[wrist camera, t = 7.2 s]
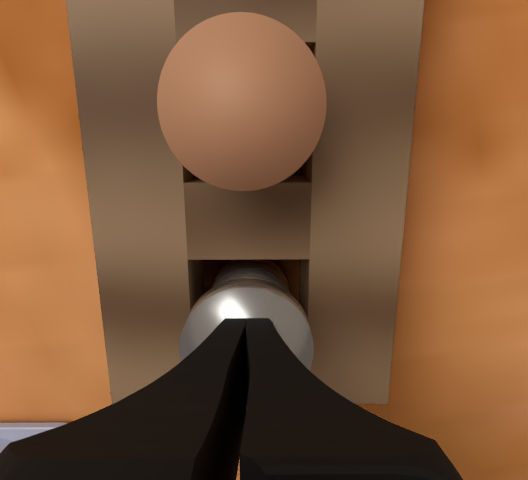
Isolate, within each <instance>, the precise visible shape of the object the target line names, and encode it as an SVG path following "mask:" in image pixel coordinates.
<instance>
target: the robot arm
mask: <svg viewBox="0 0 528 480" xmlns="http://www.w3.org/2000/svg"><path fill="white" fill-rule="evenodd" d="M246 407H247V409H246ZM243 431H244V432H243ZM239 457H240V480H463V479H462V478H461V476H460V475H459V473H458V471H457V470H456V468H455V467H454V465H453V464H452V463H451V461H450V460H449V459H448V457H447V456H446V455H445V453H444V452H443V451H442V449H441V448H440V446H439V445H438V443H437V442H436V441H435V440H433V439H430V438H428V437H425V436H423V435H420V434H418V433H415V432H413V431H410V430H408V429H405V428H403V427H400V426H398V425H395V424H393V423H390V422H388V421H386V420H384V419H382V418H380V417H378V416H376V415H374V414H372V413H370V412H368V411H366V410H365V409H363V408H361V407H359V406H358V405H356V404H354V403H352V402H351V401H349V400H348V399H346V398H345V397H343V396H342V395H340V394H339V393H337V392H335V391H334V390H333V389H331V388H330V387H329V386H327V385H326V384H325V383H323V382H322V381H321V380H320V379H319V378H317V377H316V376H315V375H314V374H313V373H311V372H310V371H309V370H308V369H307V368H306V367H305V366H304V365H303V363H302V362H301V361H300V360H299V359H298V358H297V357H296V356H295V355H294V353H293V352H292V351H291V350H290V348H289V347H288V346H287V344H286V343H285V342H284V340H283V339H282V338H281V336H280V335H279V333H278V331H277V330H276V328H275V326H274V324H273V322H272V321H271V320H270V319H269V318H225V319H224V320H223V321H222V322H221V323H220V324H219V325H218V326H217V327H216V328H215V329H214V330H213V332H212V333H211V334H210V335H209V336H208V337H207V338H206V339H205V340H204V341H203V342H202V343H201V344H200V345H199V346H198V347H197V348H196V349H195V350H194V351H193V352H192V353H190V354H189V355H188V356H187V357H186V358H185V359H183V360H182V361H181V362H180V363H179V364H177V365H176V366H175V367H174V368H172V369H171V370H170V371H168V372H167V373H165V374H164V375H162V376H161V377H159V378H158V379H156V380H155V381H153V382H152V383H150V384H149V385H147V386H145V387H144V388H142V389H140V390H138V391H136V392H134V393H133V394H131V395H129V396H127V397H125V398H124V399H122V400H120V401H118V402H116V403H114V404H112V405H110V406H108V407H105V408H103V409H101V410H99V411H97V412H94V413H92V414H90V415H87V416H85V417H83V418H80V419H78V420H75V421H73V422H70V423H64V422H52V423H0V480H236V476H237V470H238V463H239Z"/></svg>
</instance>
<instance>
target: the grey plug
mask: <svg viewBox="0 0 528 480" xmlns="http://www.w3.org/2000/svg"><path fill="white" fill-rule="evenodd" d="M225 318H269V319H270V320H271V321H272V322H273V324H274V326H275V328H276V330H277V331H278V333H279V335H280V336H281V338H282V339H283V340H284V342H285V343H286V344H287V346H288V347H289V348H290V350H291V351H292V352H293V353H294V355H295V356H296V357H297V358H298V359H299V360H300V361H301V362H302V363H303V365H304V366H305V367H306V368H307V369H308V370H310V368H311V365H312V361H313V355H314V343H313V337H312V333H311V329H310V325H309V321H308V319H307V316H306V313H305V311H304V309H303V308H302V306H301V305H300V303H299V302H298V301H297V300H296V299H295V298H294V296H293V295H291V294H290V291H289V286H288V282H287V279H286V277H285V275H284V273H283V272H282V270H281V269H280V268H279V267H278V266H277V265H276V264H275V263H273V262H271V261H270V260H268V259H249V260H232V261H230V262H229V263H227V264H226V265H225V266H223V268H222V269H221V270H220V271H219V273H218V274H217V276H216V278H215V281H214V284H213V287H212V288H211V289H210V290H208V291H207V292H206V293H204V294H203V295H202V296H201V297H200V298H199V299H198V300H197V302H196V303H195V304H194V306H193V307H192V309H191V311H190V313H189V315H188V318H187V320H186V322H185V325H184V327H183V330H182V333H181V337H180V343H179V352H180V359H181V361H182V360H183V359H185V358H186V357H187V356H188V355H189V354H190V353H192V352H193V351H194V350H195V349H196V348H197V347H198V346H199V345H200V344H201V343H202V342H203V341H204V340H205V339H206V338H207V337H208V336H209V335H210V334H211V333H212V332H213V330H214V329H215V328H216V327H217V326H218V325H219V324H220V323H221V322H222V321H223V320H224V319H225ZM246 409H247V407H246Z"/></svg>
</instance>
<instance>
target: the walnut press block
mask: <svg viewBox="0 0 528 480" xmlns="http://www.w3.org/2000/svg"><path fill="white" fill-rule="evenodd" d="M66 6H67V15H68V24H69V32H70V41H71V50H72V58H73V67H74V76H75V85H76V93H77V102H78V111H79V119H80V128H81V137H82V146H83V154H84V163H85V172H86V180H87V189H88V198H89V206H90V215H91V224H92V233H93V241H94V250H95V259H96V267H97V276H98V285H99V294H100V302H101V311H102V320H103V328H104V337H105V346H106V355H107V363H108V372H109V381H110V389H111V398H112V404H114V403H116V402H118V401H120V400H122V399H124V398H125V397H127V396H129V395H131V394H133V393H134V392H136V391H138V390H140V389H142V388H144V387H145V386H147V385H149V384H150V383H152V382H153V381H155V380H156V379H158V378H159V377H161V376H162V375H164V374H165V373H167V372H168V371H170V370H171V369H172V368H174V367H175V366H176V365H177V364H179V363H180V362H181V359H180V352H179V343H180V337H181V333H182V330H183V327H184V325H185V322H186V320H187V318H188V315H189V313H190V311H191V309H192V307H193V306H194V304H195V303H196V302H197V300H198V299H199V298H200V297H201V296H202V295H203V294H204V285H203V261H202V260H249V259H300V290H299V303H300V305H301V306H302V308H303V309H304V311H305V313H306V316H307V319H308V321H309V325H310V329H311V333H312V337H313V343H314V355H313V361H312V365H311V368H310V370H309V371H310V372H311V373H313V374H314V375H315V376H316V377H317V378H319V379H320V380H321V381H322V382H323V383H325V384H326V385H327V386H329V387H330V388H331V389H333V390H334V391H335V392H337V393H339V394H340V395H342V396H343V397H345V398H346V399H348V400H349V401H351V402H352V403H354V404H388V397H389V386H390V375H391V364H392V353H393V342H394V331H395V320H396V309H397V298H398V287H399V276H400V265H401V254H402V243H403V232H404V221H405V210H406V199H407V188H408V176H409V165H410V154H411V143H412V132H413V121H414V110H415V99H416V88H417V77H418V66H419V55H420V44H421V33H422V22H423V11H424V0H66ZM232 12H249V13H256V14H260V15H264V16H267V17H270V18H272V19H275V20H277V21H278V22H280V23H282V24H284V25H286V26H287V27H288V28H290V29H291V30H292V31H294V32H295V33H296V34H297V35H298V36H299V37H300V38H301V39H302V40H303V41H304V42H305V44H306V45H307V46H308V47H309V49H310V50H311V52H312V53H313V55H314V57H315V59H316V60H317V62H318V65H319V67H320V70H321V72H322V76H323V79H324V83H325V89H326V102H327V107H326V118H325V122H324V127H323V130H322V133H321V136H320V139H319V141H318V143H317V145H316V147H315V149H314V151H313V152H312V154H311V155H310V156H309V158H308V159H307V160H306V162H305V163H304V164H303V165H302V175H291V176H289V177H288V178H286V179H285V180H283V181H281V182H279V183H277V184H275V185H273V186H270V187H267V188H264V189H259V190H254V191H232V190H227V189H222V188H219V187H216V186H213V185H211V184H209V183H207V182H205V181H203V180H201V179H199V178H198V177H196V176H195V175H193V174H192V173H191V172H190V171H189V170H187V169H186V168H185V167H184V166H183V165H182V164H181V162H180V161H179V160H178V159H177V158H176V156H175V155H174V154H173V152H172V151H171V149H170V147H169V145H168V144H167V142H166V140H165V137H164V135H163V132H162V130H161V126H160V122H159V118H158V110H157V91H158V83H159V79H160V75H161V71H162V69H163V66H164V64H165V61H166V59H167V57H168V55H169V54H170V52H171V50H172V49H173V47H174V46H175V45H176V43H177V42H178V41H179V40H180V39H181V38H182V37H183V36H184V35H185V34H186V33H187V32H188V31H189V30H191V29H192V28H193V27H194V26H196V25H197V24H199V23H201V22H203V21H205V20H206V19H209V18H212V17H214V16H217V15H221V14H225V13H232Z"/></svg>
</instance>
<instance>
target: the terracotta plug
mask: <svg viewBox="0 0 528 480" xmlns="http://www.w3.org/2000/svg"><path fill="white" fill-rule="evenodd" d="M326 107H327V102H326V89H325V83H324V79H323V76H322V72H321V70H320V67H319V65H318V62H317V60H316V59H315V57H314V55H313V53H312V52H311V50H310V49H309V47H308V46H307V45H306V44H305V42H304V41H303V40H302V39H301V38H300V37H299V36H298V35H297V34H296V33H295V32H294V31H292V30H291V29H290V28H288V27H287V26H286V25H284V24H282V23H280V22H278V21H277V20H275V19H272V18H270V17H267V16H264V15H260V14H256V13H249V12H232V13H225V14H221V15H217V16H214V17H212V18H209V19H206V20H205V21H203V22H201V23H199V24H197V25H196V26H194V27H193V28H192V29H191V30H189V31H188V32H187V33H186V34H185V35H184V36H183V37H182V38H181V39H180V40H179V41H178V42H177V43H176V45H175V46H174V47H173V49H172V50H171V52H170V54H169V55H168V57H167V59H166V61H165V64H164V66H163V69H162V71H161V75H160V79H159V83H158V91H157V110H158V118H159V122H160V126H161V130H162V132H163V135H164V137H165V140H166V142H167V144H168V145H169V147H170V149H171V151H172V152H173V154H174V155H175V156H176V158H177V159H178V160H179V161H180V162H181V164H182V165H183V166H184V167H185V168H186V169H187V170H189V171H190V172H191V173H192V174H193V175H195V176H196V177H198V178H199V179H201V180H203V181H205V182H207V183H209V184H211V185H213V186H216V187H219V188H222V189H227V190H232V191H254V190H259V189H264V188H267V187H270V186H273V185H275V184H277V183H279V182H281V181H283V180H285V179H286V178H288V177H289V176H291V175H292V174H293V173H294V172H296V171H297V170H298V169H299V168H300V167H301V166H302V165H303V164H304V163H305V162H306V160H307V159H308V158H309V156H310V155H311V154H312V152H313V151H314V149H315V147H316V145H317V143H318V141H319V139H320V136H321V133H322V130H323V127H324V122H325V118H326Z"/></svg>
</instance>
